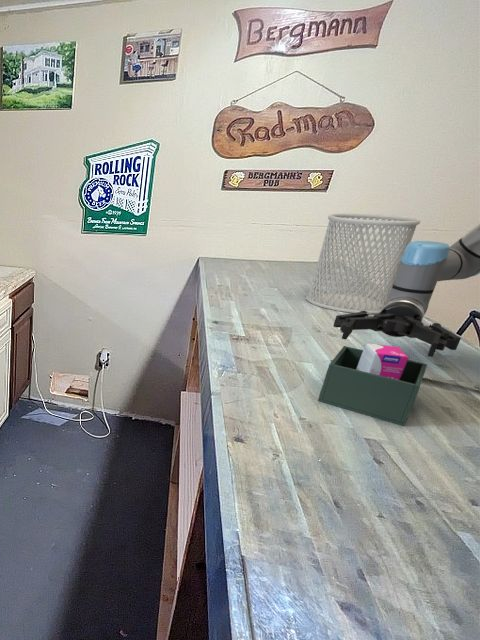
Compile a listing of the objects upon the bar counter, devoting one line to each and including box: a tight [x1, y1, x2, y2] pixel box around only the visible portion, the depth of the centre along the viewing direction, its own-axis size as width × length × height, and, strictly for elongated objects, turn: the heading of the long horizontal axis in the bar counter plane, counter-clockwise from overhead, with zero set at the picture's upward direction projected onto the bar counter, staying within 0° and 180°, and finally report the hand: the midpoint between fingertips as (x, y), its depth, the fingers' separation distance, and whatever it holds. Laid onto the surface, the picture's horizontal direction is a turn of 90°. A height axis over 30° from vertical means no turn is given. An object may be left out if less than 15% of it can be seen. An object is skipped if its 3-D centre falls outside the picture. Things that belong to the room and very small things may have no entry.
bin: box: [317, 345, 428, 427], centre depth 96 cm, size 14×14×9 cm
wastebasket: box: [305, 212, 421, 315], centre depth 158 cm, size 25×25×30 cm
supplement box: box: [356, 342, 409, 380], centre depth 95 cm, size 6×6×12 cm
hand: (387, 341), depth 90 cm, fingers open, 13 cm apart
